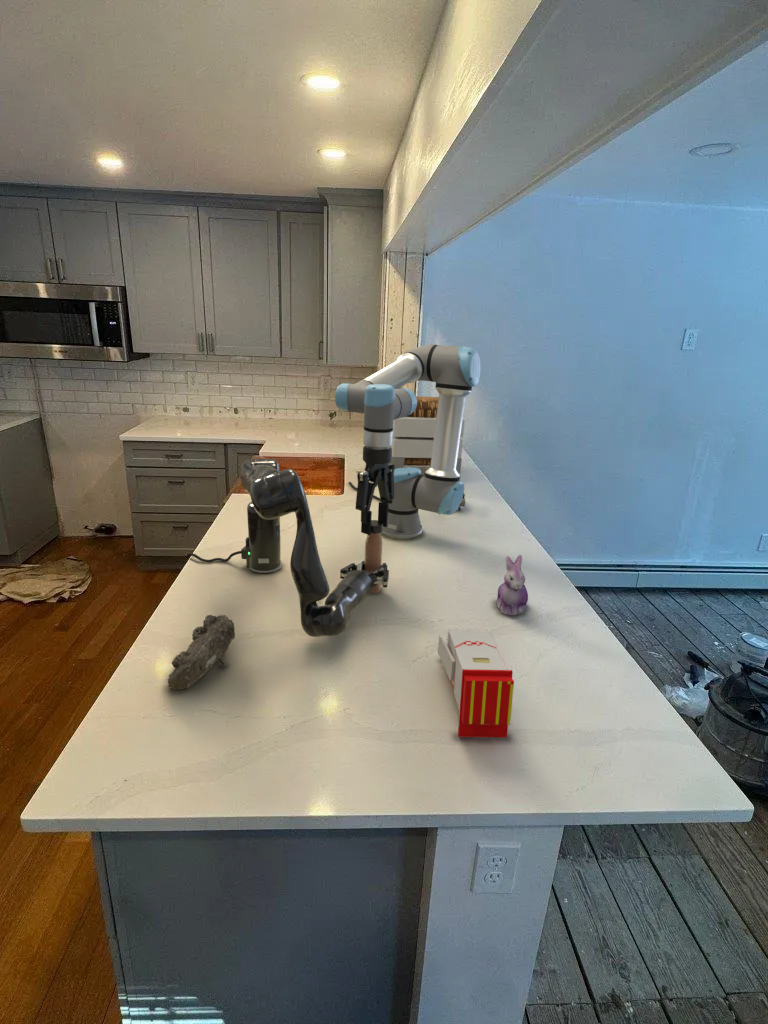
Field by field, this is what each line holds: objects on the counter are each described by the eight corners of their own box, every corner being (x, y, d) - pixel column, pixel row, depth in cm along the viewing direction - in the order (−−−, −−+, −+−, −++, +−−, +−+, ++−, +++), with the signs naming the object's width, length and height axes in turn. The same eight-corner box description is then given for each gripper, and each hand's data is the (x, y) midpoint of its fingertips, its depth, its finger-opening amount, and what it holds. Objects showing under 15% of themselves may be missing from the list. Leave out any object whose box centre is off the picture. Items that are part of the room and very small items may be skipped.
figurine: (510, 620, 147) (517, 567, 142) (486, 602, 155) (492, 552, 150) (538, 612, 151) (545, 561, 146) (513, 595, 159) (519, 546, 154)
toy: (488, 613, 130) (523, 677, 101) (484, 667, 133) (517, 744, 104) (435, 612, 130) (455, 676, 101) (432, 666, 133) (451, 743, 103)
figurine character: (465, 515, 224) (460, 499, 237) (467, 498, 221) (462, 483, 234) (448, 515, 224) (444, 499, 237) (450, 498, 220) (445, 482, 234)
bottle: (382, 587, 161) (385, 523, 154) (376, 595, 157) (379, 529, 150) (367, 584, 163) (370, 520, 156) (360, 591, 158) (362, 525, 152)
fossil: (190, 617, 133) (235, 588, 128) (218, 645, 136) (264, 617, 131) (146, 683, 113) (197, 651, 108) (180, 714, 116) (232, 684, 111)
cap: (366, 526, 156) (367, 519, 155) (383, 527, 156) (383, 520, 155) (365, 532, 152) (365, 525, 151) (382, 534, 151) (382, 526, 151)
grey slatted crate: (382, 463, 289) (386, 382, 275) (445, 464, 293) (451, 384, 279) (390, 482, 257) (394, 392, 243) (460, 483, 261) (468, 394, 247)
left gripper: (379, 582, 141) (400, 556, 156) (327, 571, 146) (353, 547, 161) (378, 608, 144) (399, 581, 159) (327, 597, 148) (352, 571, 163)
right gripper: (387, 438, 155) (384, 516, 163) (341, 450, 140) (340, 536, 148) (410, 442, 151) (405, 523, 159) (366, 455, 136) (363, 543, 144)
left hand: (376, 564), depth 160 cm, fingers closed on bottle, 4 cm apart
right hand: (374, 529), depth 153 cm, fingers open, 7 cm apart
